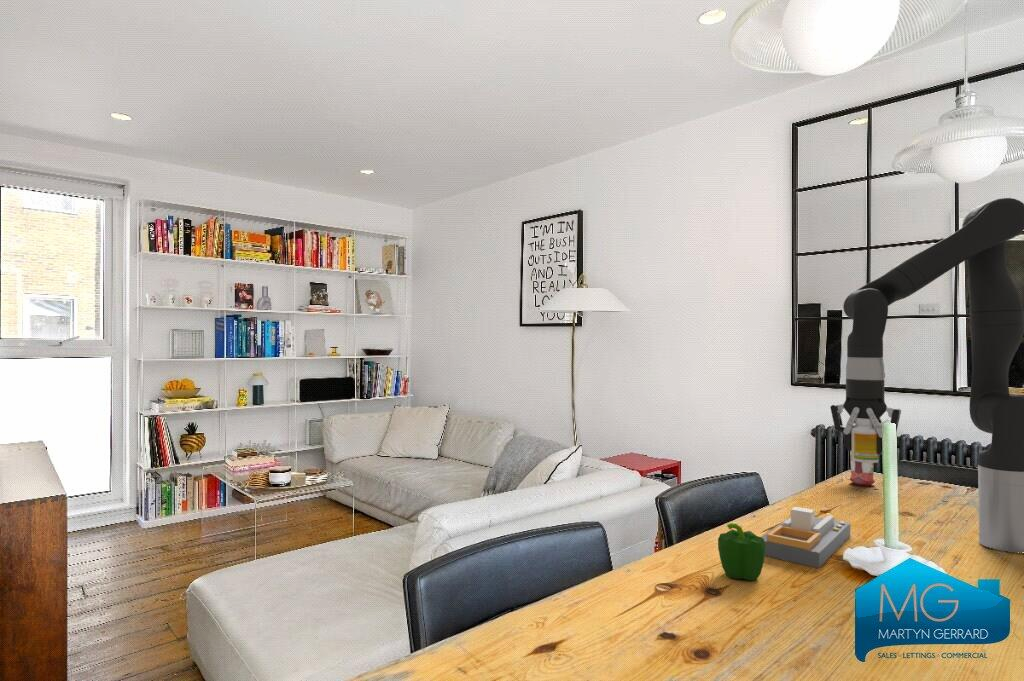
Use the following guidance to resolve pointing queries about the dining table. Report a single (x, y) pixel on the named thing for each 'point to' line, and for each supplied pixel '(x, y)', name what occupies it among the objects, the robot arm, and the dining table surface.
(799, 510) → the handle
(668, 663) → the dining table surface
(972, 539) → the dining table surface
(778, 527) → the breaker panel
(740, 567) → the bell pepper
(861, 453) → the supplement bottle
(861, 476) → the liquor
